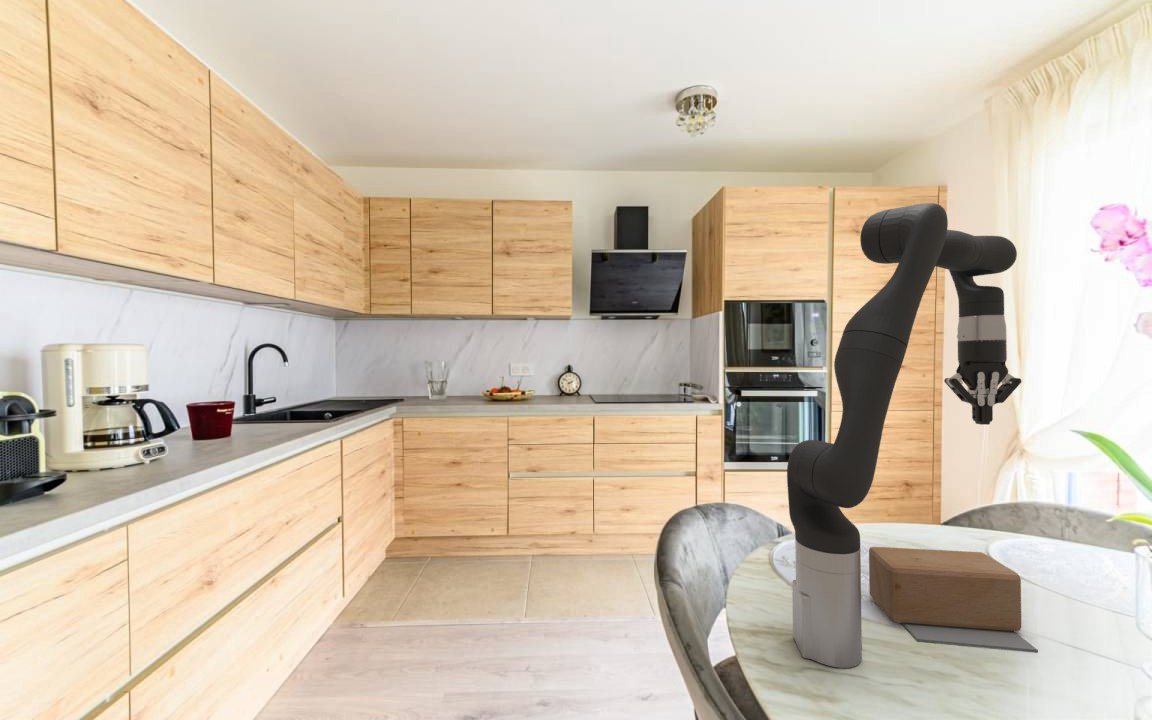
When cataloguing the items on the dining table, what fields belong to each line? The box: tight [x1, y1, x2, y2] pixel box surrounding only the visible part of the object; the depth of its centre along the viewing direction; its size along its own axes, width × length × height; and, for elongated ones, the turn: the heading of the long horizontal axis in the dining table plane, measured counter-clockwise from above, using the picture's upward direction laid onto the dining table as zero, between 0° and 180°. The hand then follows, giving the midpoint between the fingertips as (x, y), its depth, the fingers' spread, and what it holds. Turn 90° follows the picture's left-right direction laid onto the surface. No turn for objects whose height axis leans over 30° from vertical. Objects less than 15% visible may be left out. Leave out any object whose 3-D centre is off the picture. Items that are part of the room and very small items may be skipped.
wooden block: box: [868, 546, 1022, 632], centre depth 85 cm, size 10×10×20 cm
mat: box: [899, 622, 1039, 653], centre depth 84 cm, size 17×18×1 cm
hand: (982, 423), depth 95 cm, fingers closed
